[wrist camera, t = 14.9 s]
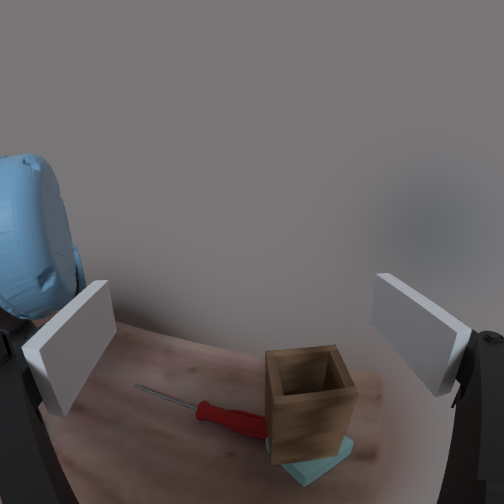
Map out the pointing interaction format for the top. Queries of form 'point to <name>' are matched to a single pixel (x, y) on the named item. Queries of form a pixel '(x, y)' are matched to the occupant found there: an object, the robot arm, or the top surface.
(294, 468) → the post stand
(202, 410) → the screwdriver
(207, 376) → the top surface
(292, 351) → the brown tall open box
